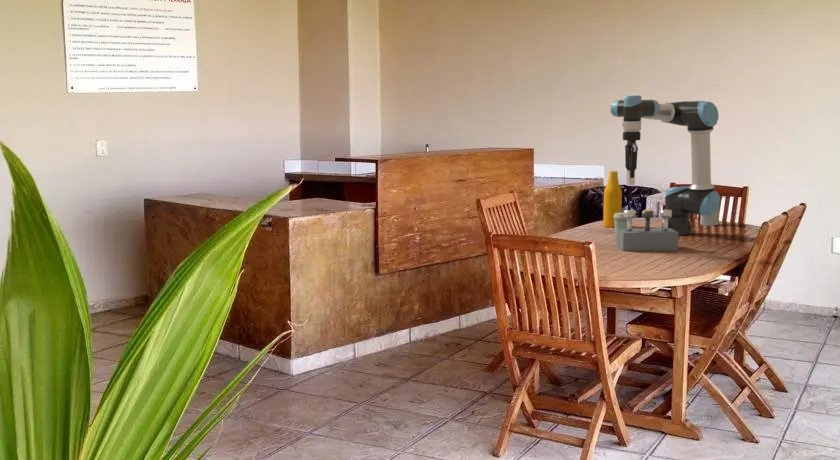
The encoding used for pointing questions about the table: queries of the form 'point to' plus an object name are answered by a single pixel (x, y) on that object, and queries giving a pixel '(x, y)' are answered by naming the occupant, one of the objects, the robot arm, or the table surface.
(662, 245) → the console
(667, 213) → the knob
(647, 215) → the pot knob
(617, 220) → the coffee cup
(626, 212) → the knob
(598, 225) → the table surface
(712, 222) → the cup
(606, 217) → the beer bottle
